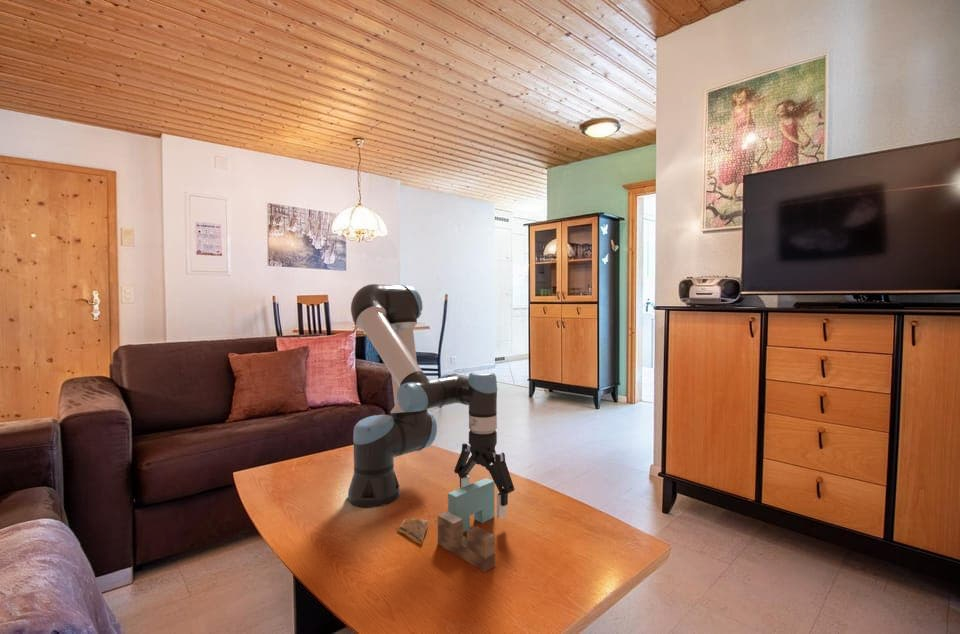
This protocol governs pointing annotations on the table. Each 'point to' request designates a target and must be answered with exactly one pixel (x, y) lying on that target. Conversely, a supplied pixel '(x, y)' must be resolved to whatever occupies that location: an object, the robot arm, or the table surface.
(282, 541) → the table surface
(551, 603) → the table surface
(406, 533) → the shard
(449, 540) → the walnut board
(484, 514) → the teal board
